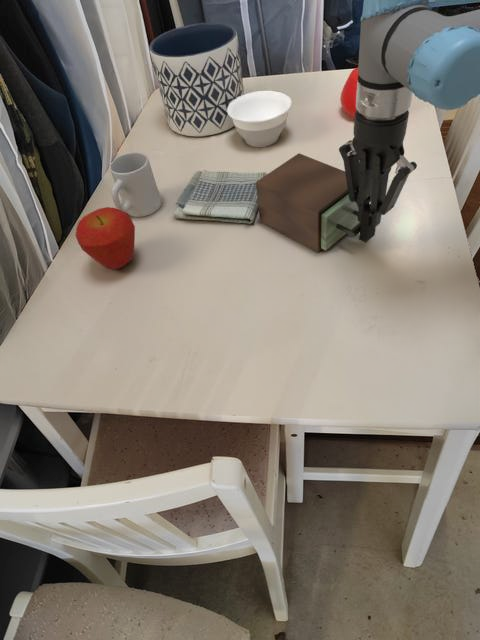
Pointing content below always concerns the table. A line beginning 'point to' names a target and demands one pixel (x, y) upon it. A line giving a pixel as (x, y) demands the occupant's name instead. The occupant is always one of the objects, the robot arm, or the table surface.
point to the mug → (134, 185)
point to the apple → (107, 236)
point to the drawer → (339, 222)
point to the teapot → (350, 93)
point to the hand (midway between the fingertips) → (366, 237)
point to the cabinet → (299, 198)
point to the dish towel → (220, 197)
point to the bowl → (260, 116)
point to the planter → (198, 76)
